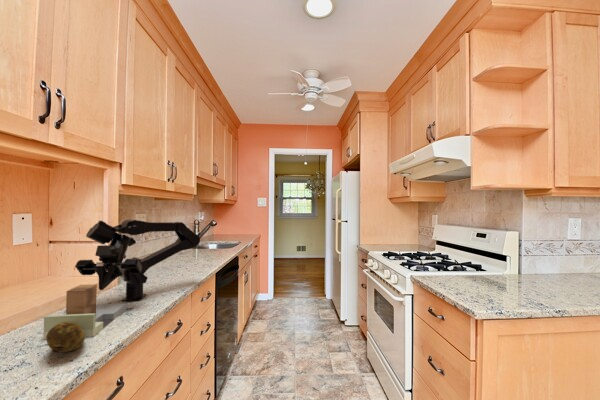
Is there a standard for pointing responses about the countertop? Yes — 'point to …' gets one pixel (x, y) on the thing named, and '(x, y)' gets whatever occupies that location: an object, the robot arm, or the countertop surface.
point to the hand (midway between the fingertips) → (100, 289)
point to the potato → (65, 337)
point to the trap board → (87, 319)
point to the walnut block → (81, 300)
